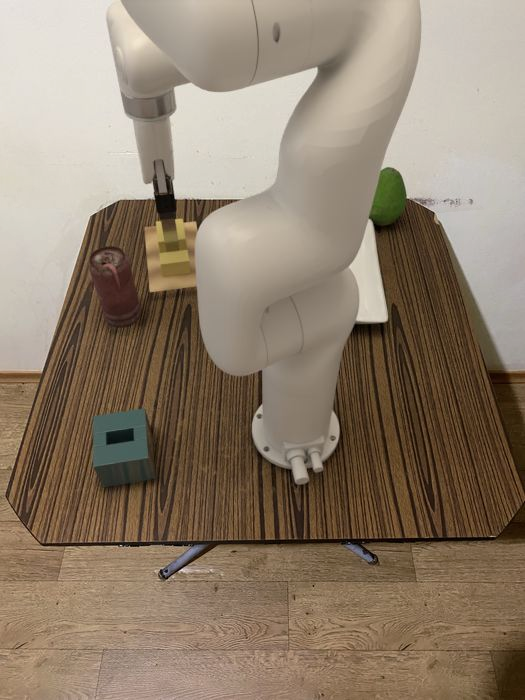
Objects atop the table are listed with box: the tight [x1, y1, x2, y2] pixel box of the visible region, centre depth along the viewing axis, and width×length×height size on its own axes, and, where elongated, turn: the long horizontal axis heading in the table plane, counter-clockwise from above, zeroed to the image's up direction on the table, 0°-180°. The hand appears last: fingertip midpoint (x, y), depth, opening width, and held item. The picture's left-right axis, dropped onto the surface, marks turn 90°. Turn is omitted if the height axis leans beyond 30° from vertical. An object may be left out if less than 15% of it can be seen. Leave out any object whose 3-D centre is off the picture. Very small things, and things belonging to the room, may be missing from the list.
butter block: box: [155, 218, 187, 253], centre depth 107 cm, size 6×5×3 cm
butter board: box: [144, 221, 198, 293], centre depth 106 cm, size 18×10×2 cm, turn 10°
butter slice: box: [159, 250, 191, 277], centre depth 102 cm, size 3×5×3 cm, turn 100°
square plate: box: [349, 219, 389, 325], centre depth 102 cm, size 27×27×4 cm
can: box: [87, 245, 142, 329], centre depth 92 cm, size 6×6×14 cm
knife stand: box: [92, 407, 156, 489], centre depth 78 cm, size 8×7×6 cm
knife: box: [157, 181, 180, 252], centre depth 98 cm, size 2×3×15 cm
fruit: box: [369, 166, 408, 227], centre depth 109 cm, size 8×8×12 cm
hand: (166, 205), depth 96 cm, fingers closed on knife, 2 cm apart
